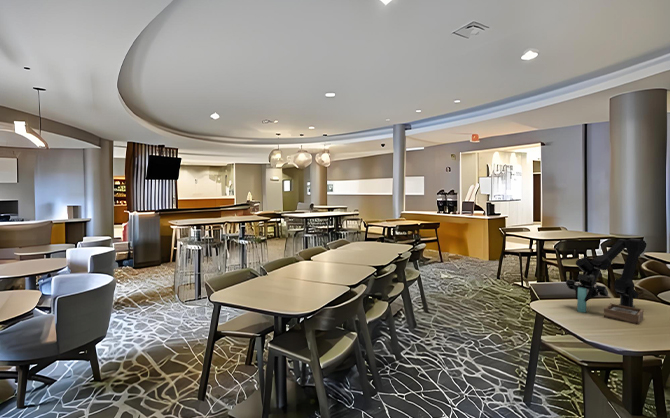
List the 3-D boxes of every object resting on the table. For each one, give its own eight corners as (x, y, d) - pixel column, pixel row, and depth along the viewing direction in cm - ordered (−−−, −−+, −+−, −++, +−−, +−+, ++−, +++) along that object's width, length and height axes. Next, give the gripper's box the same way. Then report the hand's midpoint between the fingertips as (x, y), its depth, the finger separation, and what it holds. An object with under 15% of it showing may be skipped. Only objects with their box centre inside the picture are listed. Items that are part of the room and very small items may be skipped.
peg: (578, 309, 193) (579, 286, 192) (587, 311, 190) (587, 288, 189) (576, 311, 190) (576, 287, 190) (584, 313, 187) (585, 289, 187)
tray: (610, 311, 190) (610, 303, 190) (643, 318, 179) (643, 309, 179) (603, 317, 181) (604, 308, 181) (638, 324, 171) (638, 315, 170)
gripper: (567, 265, 199) (557, 287, 194) (606, 271, 183) (596, 295, 178) (574, 277, 203) (564, 299, 198) (612, 284, 187) (602, 308, 182)
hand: (580, 300), depth 189 cm, fingers closed on peg, 4 cm apart
